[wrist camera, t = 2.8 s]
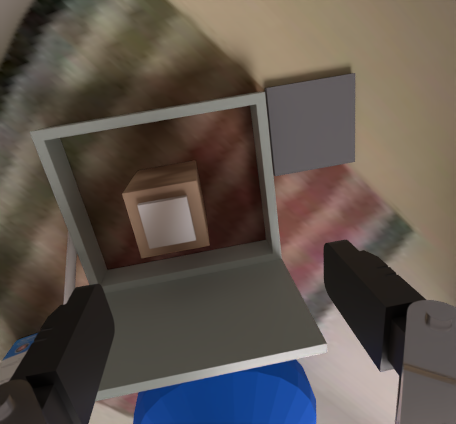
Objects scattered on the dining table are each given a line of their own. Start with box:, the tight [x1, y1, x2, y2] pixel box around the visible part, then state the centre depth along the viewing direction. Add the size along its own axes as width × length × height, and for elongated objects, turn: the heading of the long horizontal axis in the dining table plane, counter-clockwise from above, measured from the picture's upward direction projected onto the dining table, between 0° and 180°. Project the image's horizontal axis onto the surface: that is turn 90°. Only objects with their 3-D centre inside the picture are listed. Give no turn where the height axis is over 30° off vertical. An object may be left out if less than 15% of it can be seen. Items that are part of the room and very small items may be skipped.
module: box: [122, 160, 210, 258], centre depth 26 cm, size 6×6×8 cm
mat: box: [265, 73, 355, 176], centre depth 29 cm, size 8×8×1 cm
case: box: [30, 92, 327, 401], centre depth 23 cm, size 19×16×14 cm
